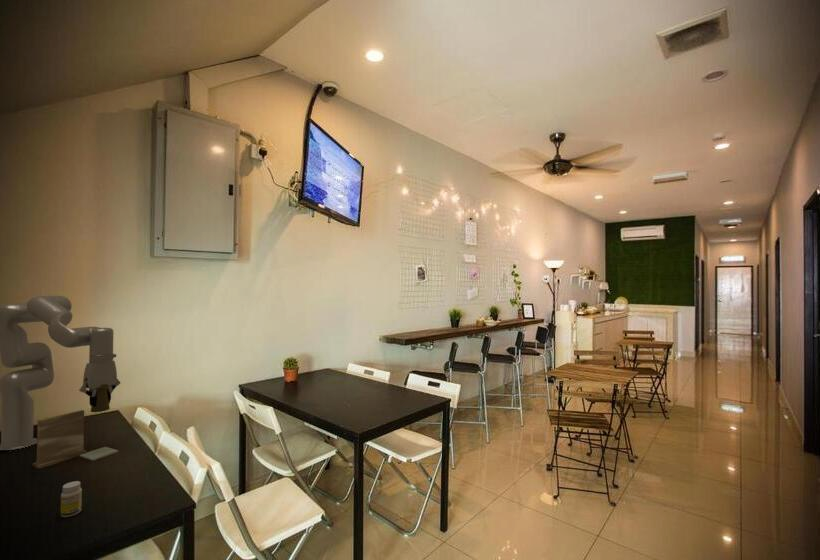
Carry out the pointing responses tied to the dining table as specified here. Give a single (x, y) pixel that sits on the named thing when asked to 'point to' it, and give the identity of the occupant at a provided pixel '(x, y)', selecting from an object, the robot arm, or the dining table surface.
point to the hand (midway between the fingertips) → (100, 404)
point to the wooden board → (60, 438)
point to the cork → (101, 399)
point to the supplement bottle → (71, 499)
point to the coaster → (98, 453)
